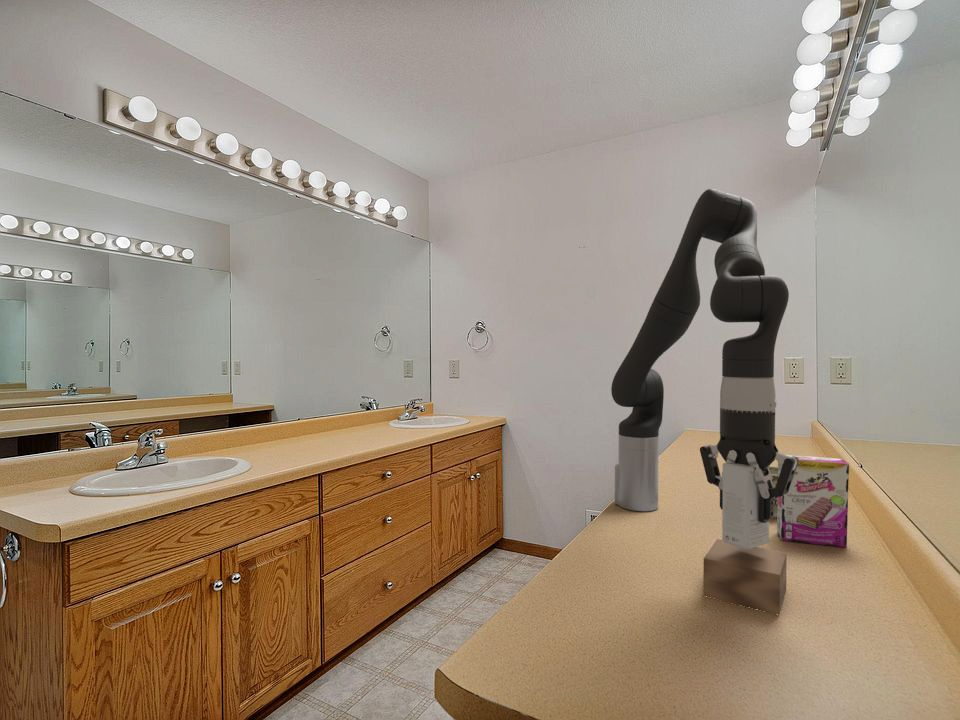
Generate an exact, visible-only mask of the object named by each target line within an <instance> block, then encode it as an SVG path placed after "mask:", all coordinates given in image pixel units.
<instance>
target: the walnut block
mask: <svg viewBox="0 0 960 720" xmlns="http://www.w3.org/2000/svg"><path fill="white" fill-rule="evenodd" d="M787 557H788V556H787V552H785V551H780V550H775V549H769V548H765V547H760V546H757V547H754V548H751V549H743V548H740V547H737V546H734V545H731V544H728V543H726V542H724V541H723V540H722V539H719V538H717V539H716V540H715V541H714V543H713V545H712V546H711V547H710V548H709V550H708V551H707V553H706V554H705V555H704V557H703V575H702V576H703V580H702V581H703V586H702V588H703V595H702V597H704V596H707V597H706V598H708V597H711V598H710V599H712V598H715V599H714V600H716V599H718V600H717V601H719V600H721V601H720V602H723V601H725V602H724V603H727V602H729V603H728V604H731V603H733V604H732V605H735V604H736V606H739V605H742V606H745V607H744V608H746V607H750V608H753V609H752V610H754V609H758V610H761V611H760V612H762V611H765V612H768V613H767V614H769V613H773V614H778V615H781V612H782V608H783V604H784V600H785V597H784V596H786V592H787V566H788V565H787V559H788V558H787ZM742 606H741V607H742ZM750 608H749V609H750ZM758 610H757V611H758ZM780 611H781V612H780ZM765 612H764V613H765ZM773 614H772V615H773Z"/></svg>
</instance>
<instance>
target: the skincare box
mask: <svg viewBox="0 0 960 720" xmlns="http://www.w3.org/2000/svg"><path fill="white" fill-rule="evenodd" d="M722 471H723V506H722V507H723V508H722V509H721V510H722V511H721V513H722V516H721V517H722V519H721V520H722V521H721V522H722V523H721V524H722V532H721V535H722V539H721V540H723V541H724V542H726V543H728V544H731V545H734V546H737V547H740V548H743V549H751V548H754V547H760V546H763V545H766V544H768V543H769V542H770V537H769V536H770V534H769V533H770V531H769V530H770V529H769V527H770V524H769V523H770V520H769V521H768V522H766V523H762V522H759V498H760V497H762V496H761V493H760V490H759V487H758V484H757V483H756V482H755V480H754V477H753V471H754V469H753V468H752V467H750V466H749V465H743V464H737V463H735V464H731V463H726V462H725V463H723V464H722ZM764 472H765V471H764ZM764 472H762V473H764Z"/></svg>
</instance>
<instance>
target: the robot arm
mask: <svg viewBox="0 0 960 720" xmlns="http://www.w3.org/2000/svg"><path fill="white" fill-rule="evenodd" d="M757 214H758V213H757V209H756V206H755V204H754V203H753V202H752V201H751V200H749V199H747V198H744V197H741V196H738V195H735V194H731V193H730V192H729V193H728V192H725V191H722V190H718V189H715V188H708V189H705V191H703V192H702V193H701V194H700V196H699V198H698V199H697V201H696V203H695V204H694V206H693V209H692V210H691V213H690V216H689V219H688V221H687V223H686V227H685V229H684V232H683V233H682V237H681V240H680V242H679V245H678V248H677V249H676V252H675V255H674V257H673V259H672V262H671V263H670V266H669V268H668V270H667V272H666V274H665V276H664V278H663V280H662V283H661V284H660V287H659V288H658V290H657V291H656V294H655V297H654V299H653V301H652V303H651V304H650V307H649V309H648V312H647V314H646V316H645V319H644V321H643V323H642V326H641V327H640V328H639V331H638V333H637V335H636V337H635V339H634V342H633V344H632V345H631V346H630V348H629V351H628V352H627V354H626V356H625V357H624V359H623V360H622V362H621V364H620V366H619V367H618V369H617V370H616V372H615V375H614V377H613V379H612V383H611V387H610V388H611V389H610V391H611V393H610V394H611V397H612V400H613V402H615V403H616V404H617V405H618V406H620V407H624V408H632V411H631V413H630V414H629V416H628V417H626V418H625V419H623V420H622V421H620V422H619V423H618V464H615V465H614V505H616V506H617V505H618V506H619V507H621V508H623V509H625V510H629V511H636V512H652V511H656V510H657V509H659V453H660V452H659V444H660V442H659V437H660V435H659V431H660V428H661V426H662V423H663V416H664V415H663V412H664V411H663V410H664V397H665V395H664V394H665V393H664V389H665V388H664V382H663V379H662V377H661V374H660V373H659V372H658V371H657V370H655V369H653V366H654V365H655V363H656V362H657V360H658V359H659V358H660V357H661V356H662V355H664V353H665V352H667V351H668V350H670V349H671V347H672V346H673V345H675V344H676V342H678V341H679V340H680V339H681V338H682V337H683V336H684V335H685V334H686V332H687V331H688V329H689V328H690V325H691V324H692V322H693V320H694V318H695V316H696V314H697V312H698V310H699V308H700V305H701V291H700V290H701V289H700V284H699V279H698V278H699V277H698V271H697V253H698V249H699V248H698V247H699V245H700V241H701V239H702V238H703V239H707V240H710V241H713V242H716V243H720V245H719V246H718V247H717V249H716V251H715V256H714V259H713V260H714V261H713V262H714V263H713V264H714V270H715V273H716V281H715V283H714V285H713V288H712V291H711V294H710V299H709V306H710V311H711V313H712V315H713V316H714V317H715V319H717V320H718V321H721V322H724V323H759V324H758V327H757V329H756V330H755V332H753V333H752V334H749V335H746V336H740V337H736V338H731V339H728V340H726V341H725V342H724V343H723V345H722V351H721V355H722V356H721V359H722V361H721V362H722V363H721V364H722V366H721V371H722V374H721V376H722V377H721V382H720V383H721V385H720V394H719V395H720V396H719V441H718V442H717V444H714V445H712V444H707V445H703V446H700V448H699V453H700V457H701V460H702V465H703V469H704V473H705V476H706V481H707V482H708V483H709V484H710V485H713V486H716V487H717V488H718V489H719V507H720V510H722V508H723V507H722V506H723V470H722V471H720V468H719V465H718V461H717V458H718V457H719V454H720V455H721V457H722V458H723V460H724V462H725V463H731V464H735V463H737V464H743V465H749V466H750V467H752V468H753V469H754V471H753V477H754V480H755V482H756V483H757V484H758V487H759V490H760V493H761V496H762V497H760V498H759V522H762V523H766V522H768V521H769V522H770V520H771V519H772V518H774V517H773V515H774V497H781V496H783V495H784V494H787V493H788V492H789V489H790V486H791V483H792V480H793V477H794V474H795V471H796V468H797V465H798V462H799V460H798V458H797V457H795V456H792V457H790V456H787V455H788V454H784V453H781V452H779V450H778V448H777V446H776V442H775V441H776V407H777V399H776V388H775V379H774V375H775V373H774V372H775V371H774V370H775V367H774V366H775V364H774V363H775V350H776V349H775V348H776V342H777V339H778V338H777V337H778V334H779V329H780V327H781V323H782V321H783V318H784V314H785V312H786V310H787V306H788V303H789V297H790V296H789V295H790V293H789V287H788V286H787V284H786V282H785V280H783V278H781V277H780V276H777V275H766V270H765V265H764V263H763V260H762V258H761V255H760V252H759V250H758V249H759V248H758V245H757V244H758V243H757V241H758V240H757V239H758V237H757V236H758V215H757ZM775 460H776V462H777V467H779V469H781V472H780V475H779V478H778V481H777V484H776V487H774V486H773V483H772V476H771V473H770V470H769V466H771V464H772V463H774V462H775ZM764 471H765V472H764ZM762 472H764V473H762Z"/></svg>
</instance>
